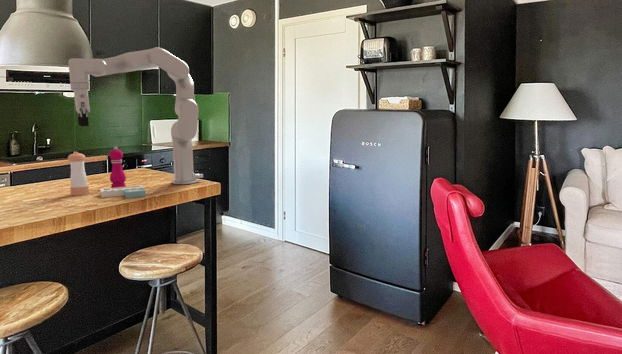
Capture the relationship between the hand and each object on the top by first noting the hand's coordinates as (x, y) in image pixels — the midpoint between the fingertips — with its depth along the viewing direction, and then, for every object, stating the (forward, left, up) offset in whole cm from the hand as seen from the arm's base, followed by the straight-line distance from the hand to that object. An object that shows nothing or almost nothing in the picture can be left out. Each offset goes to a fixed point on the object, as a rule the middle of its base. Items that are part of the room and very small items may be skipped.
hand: (83, 125), depth 199 cm
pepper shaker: (+4, +4, -31) cm, 31 cm away
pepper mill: (-13, -4, -31) cm, 33 cm away
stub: (-17, +21, -30) cm, 41 cm away
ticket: (-13, +14, -30) cm, 36 cm away
